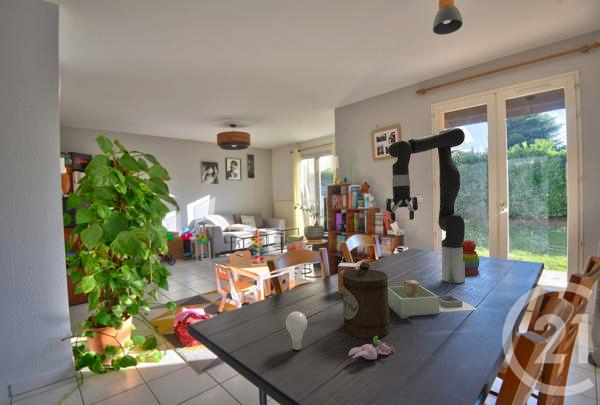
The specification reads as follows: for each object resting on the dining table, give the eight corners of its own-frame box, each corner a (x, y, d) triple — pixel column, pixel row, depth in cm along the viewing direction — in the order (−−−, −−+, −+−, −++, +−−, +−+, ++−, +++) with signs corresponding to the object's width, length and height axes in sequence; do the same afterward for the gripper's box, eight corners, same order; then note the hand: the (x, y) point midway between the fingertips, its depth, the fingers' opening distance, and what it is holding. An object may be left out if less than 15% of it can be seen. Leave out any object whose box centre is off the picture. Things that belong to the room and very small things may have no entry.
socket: (454, 298, 122) (454, 291, 122) (477, 312, 108) (477, 304, 108) (422, 300, 121) (421, 293, 120) (441, 314, 107) (441, 306, 106)
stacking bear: (459, 269, 167) (459, 238, 166) (480, 271, 161) (479, 239, 160) (456, 273, 158) (456, 240, 158) (478, 276, 152) (478, 242, 152)
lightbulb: (286, 344, 89) (284, 308, 88) (306, 343, 89) (305, 307, 89) (286, 356, 82) (285, 317, 82) (309, 354, 83) (308, 315, 83)
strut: (414, 305, 114) (413, 279, 114) (419, 309, 110) (419, 283, 110) (404, 306, 113) (403, 280, 113) (409, 310, 110) (408, 283, 109)
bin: (419, 301, 119) (419, 284, 119) (439, 316, 105) (439, 296, 105) (386, 304, 118) (385, 286, 118) (401, 318, 104) (401, 299, 104)
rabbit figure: (381, 350, 87) (342, 357, 79) (383, 329, 87) (344, 335, 79) (398, 360, 81) (358, 369, 74) (400, 338, 82) (360, 344, 74)
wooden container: (341, 319, 106) (340, 258, 105) (383, 318, 105) (381, 257, 104) (347, 339, 91) (345, 269, 90) (395, 338, 90) (393, 268, 90)
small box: (338, 294, 131) (337, 265, 131) (340, 289, 137) (340, 262, 137) (356, 295, 129) (355, 266, 128) (358, 291, 135) (357, 263, 134)
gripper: (411, 184, 139) (413, 218, 139) (382, 186, 137) (384, 220, 138) (420, 184, 131) (421, 220, 132) (389, 185, 130) (391, 222, 130)
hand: (402, 220), depth 135 cm, fingers open, 8 cm apart
